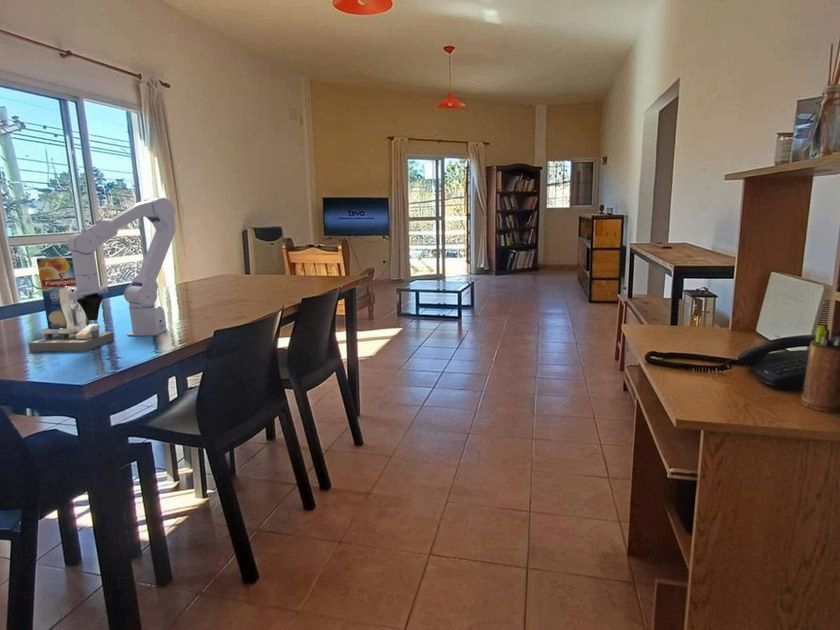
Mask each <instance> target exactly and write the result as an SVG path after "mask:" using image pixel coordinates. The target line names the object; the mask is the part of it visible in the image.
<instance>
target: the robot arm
mask: <svg viewBox="0 0 840 630" xmlns="http://www.w3.org/2000/svg"><path fill="white" fill-rule="evenodd" d="M176 213H177V209H176V208H175V206H174V204H173V203H172V201H171V200H170V199H168V198H166V197H158V198H145V199H143V200H142V201H139V202H136V203H135V204H134V205H132V206H130V207H129V208H127V209H126V210H123V212H121V213H119V214H117V215H116V216H115V217H113V218H112V219H106V218H102V219H101V218H100V219H95V220H94V224H92V225H90V226H89V227H87V228H83V227H82V229H80V233H73V234H71V235H70V236H69V237H68V239H67V242H66V244H65V245H66V248H67V249H68V250H69V252H71V256H72V259H73V267H74V274H75V280H76V287H77V290H74V292H72V293H68V296H69V300H76V301H77V302H78V303H79V304H80V306H81V307H82V308H83V310H84V312H85V314H86V316H87V318H88V320H89V321H97V320H98V319H99V312H100V306H101V304H102V302H103V300H104V295H103V294H105V293H109V291H108V289H109V288H108V285H100V281H99V275H98V266H97V259H96V253H95V252H96V250H97V249H98V247H99V246H101V245H103V244H104V243H106V242H107V241H110V240H111V239H113V238H114V237H116V236H118V231H119V229H121V228H123V227H125V226H127V225H128V224H129V225H130V223H132V222H134V221H136V220H138V219H140V218H147V220H148V221H149V222H150V223H151V224H152V225H153V227H154V229H155V232H154V234H153V237H152V239H151V242H150V244H149V247H148V250H147V252H146V255H145V257H144V259H143V262H142V265H141V267H140V269H139V271H138V274H137V275H136V276H135V277H134V278H133V279H132V280H131V282H130V284H129V285H128V286H127V287H126V288H125V289H124V291H123V297H124V299H125V301H126V302H128V303H129V304H128V309H129V315H130V323H131V330H132V332H128V333H127V334H126V336H128V337H129V336H130V337H131V336H132V337H133V336H134V337H135V336H136V337H137V336H141V337H143V336H146V337H147V336H157V335H159V334H162V333H164V332H166V331H168V328H167V323H166V322H167V321H166V316H165V315H166V313H165V310H164V307H162V306H159V305H158V306H157V305H155V303H156V302H157V300H158V299H157V298H158V288H159V285H158V281H157V280H158V276H159V274H160V271H161V269H162V266H163V263H164V261H165V260H166V256H167V254H168V251H169V249H170V246H171V244H172V241H173V238H174V236H175V233H176V219H175V218H176V217H175V214H176Z"/></svg>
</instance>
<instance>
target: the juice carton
mask: <svg viewBox="0 0 840 630" xmlns="http://www.w3.org/2000/svg"><path fill="white" fill-rule="evenodd" d="M35 260H36V263H37V269H38V273H39V274H38V275H39V280H40V281H39V282H40V287H41V294H42V299H43V305H44V310H45V316H46V322H47V323H46V324H47V329H57V330H58V329H60V328H65V329H67V323H66V319H65V316H64V314H63V311H62V308H61V304H60V298H59V288H63V287H71V286H76V280H75V274H74V267H73V259H72V255H65V256H64V255H63V256H51V257H50V256H49V257H46V256H45V257H37V258H36V259H35ZM85 319H86V324H87V326H88V325H89V324H90V320H88V318H87V316H86V317H85Z"/></svg>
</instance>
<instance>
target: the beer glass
mask: <svg viewBox="0 0 840 630" xmlns="http://www.w3.org/2000/svg"><path fill="white" fill-rule="evenodd" d="M74 290H77V287H76V286H71V287H63V288H59V298H60V304H61V308H62V311H63V314H64V316H65V319H66V323H67V328H66V329H77V330H83V329H84V328H85V327H87V324H86V319H85V317H86V314H85V312H84V310H83V308H82V307H81V306H80V304H79V303H78V302H77V301H76V300H69V296H68V293H72V292H74Z"/></svg>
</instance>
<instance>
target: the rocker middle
mask: <svg viewBox="0 0 840 630" xmlns="http://www.w3.org/2000/svg"><path fill="white" fill-rule="evenodd" d="M57 330H58V333H63V334H75V331H78V330H77V329H67V328H65V329H57Z"/></svg>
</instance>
